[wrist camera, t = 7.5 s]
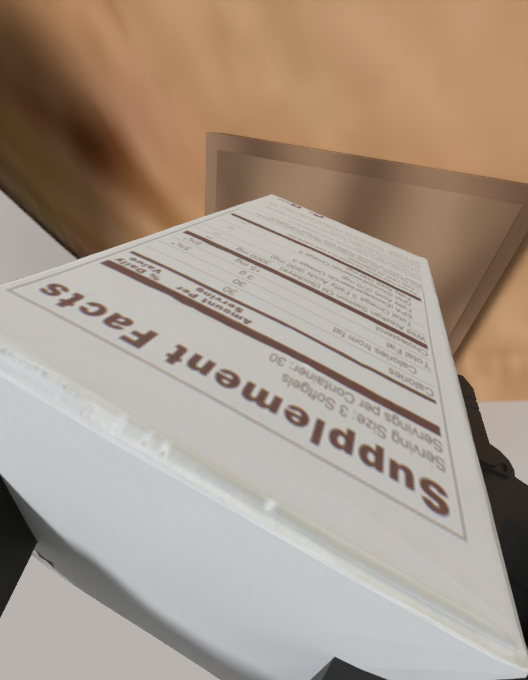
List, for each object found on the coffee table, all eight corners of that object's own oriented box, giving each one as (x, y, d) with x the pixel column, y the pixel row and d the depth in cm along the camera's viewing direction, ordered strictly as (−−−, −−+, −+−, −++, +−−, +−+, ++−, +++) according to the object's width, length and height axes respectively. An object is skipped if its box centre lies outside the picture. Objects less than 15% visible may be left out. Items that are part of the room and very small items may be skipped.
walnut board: (215, 288, 26) (203, 298, 24) (221, 132, 20) (205, 131, 18) (441, 353, 22) (444, 370, 21) (537, 185, 16) (553, 189, 14)
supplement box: (350, 380, 17) (275, 724, 7) (231, 320, 18) (7, 548, 8) (436, 257, 12) (579, 718, 2) (271, 184, 13) (-128, 303, 3)
